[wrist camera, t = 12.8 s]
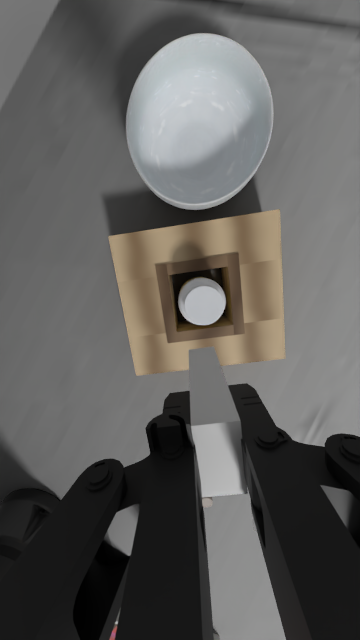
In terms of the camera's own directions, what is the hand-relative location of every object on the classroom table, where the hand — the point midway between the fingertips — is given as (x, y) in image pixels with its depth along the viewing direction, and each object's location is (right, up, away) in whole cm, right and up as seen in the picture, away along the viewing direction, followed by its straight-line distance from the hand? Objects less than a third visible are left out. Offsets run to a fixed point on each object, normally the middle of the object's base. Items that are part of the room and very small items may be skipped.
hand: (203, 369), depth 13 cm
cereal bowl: (+1, +27, +19) cm, 33 cm away
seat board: (+2, +7, +23) cm, 24 cm away
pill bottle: (+2, +7, +23) cm, 24 cm away
